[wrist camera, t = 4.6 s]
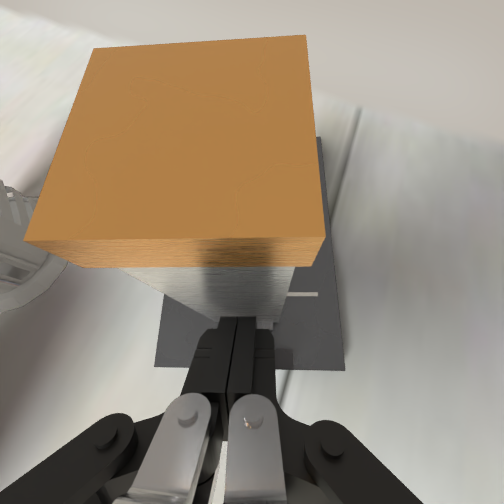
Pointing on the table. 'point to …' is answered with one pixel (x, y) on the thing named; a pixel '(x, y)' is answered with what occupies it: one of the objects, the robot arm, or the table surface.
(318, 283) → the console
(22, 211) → the french press
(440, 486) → the table surface
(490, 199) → the table surface
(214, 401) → the robot arm
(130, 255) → the fader handle
